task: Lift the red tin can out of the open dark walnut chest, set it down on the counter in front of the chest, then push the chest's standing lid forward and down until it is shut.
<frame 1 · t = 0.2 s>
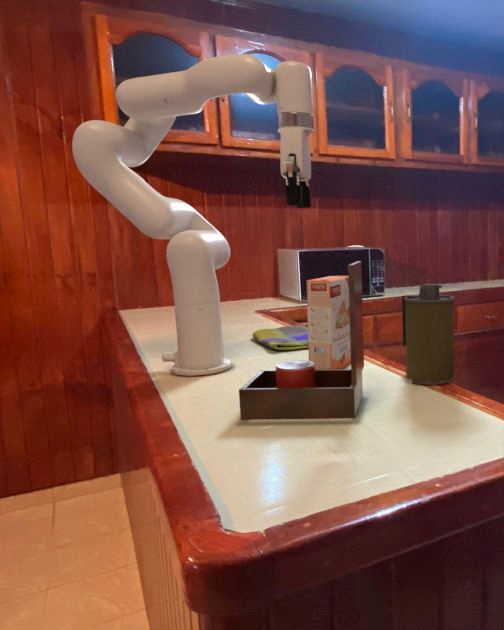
hand: (299, 206, 116), 37 cm above the counter, tool pointing down, fingers open, 9 cm apart
cracker box: (332, 368, 122), on the counter
canister: (429, 379, 112), on the counter
chest: (306, 410, 92), on the counter
dish towel: (291, 342, 153), on the counter
tin can: (297, 406, 92), point 1 cm above the counter, touching chest
lid: (356, 320, 90), point 16 cm above the counter, hinge at 90.0°
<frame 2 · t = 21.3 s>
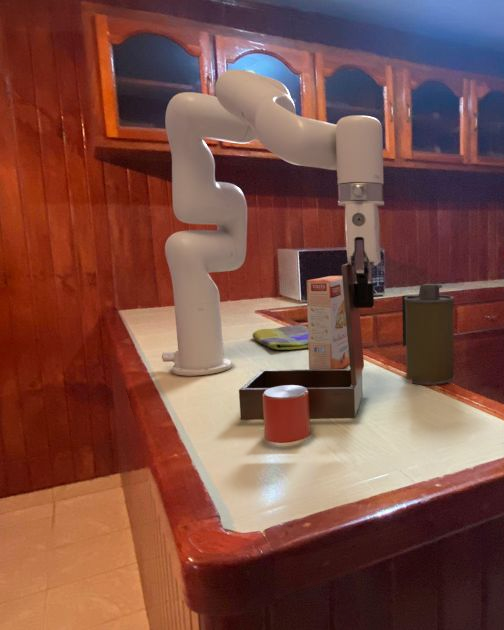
hand: (364, 306, 89), 18 cm above the counter, tool pointing down, fingers closed
tin can: (287, 439, 79), on the counter
lid: (353, 320, 90), point 16 cm above the counter, hinge at 86.8°, touching gripper
everything else where it was.
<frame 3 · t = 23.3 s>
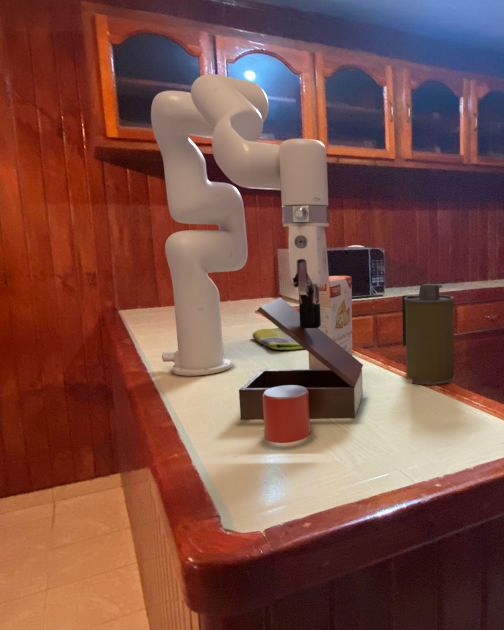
hand: (310, 327, 90), 15 cm above the counter, tool pointing down, fingers closed
lid: (314, 339, 90), point 13 cm above the counter, hinge at 40.9°, touching gripper
everything else where it was.
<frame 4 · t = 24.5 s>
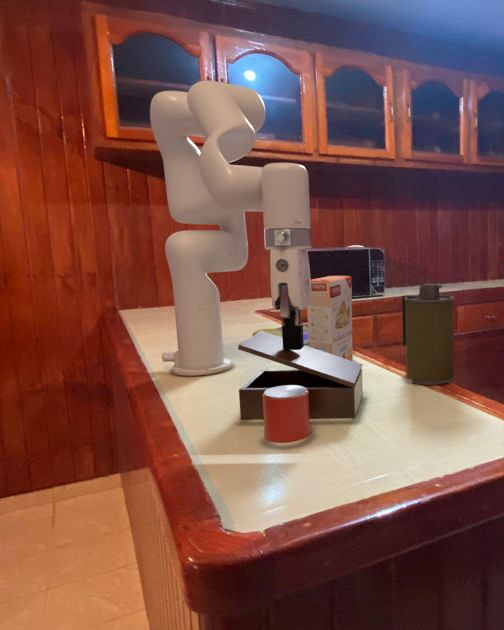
hand: (293, 348, 90), 11 cm above the counter, tool pointing down, fingers closed
lid: (304, 357, 91), point 10 cm above the counter, hinge at 19.8°, touching gripper
everything else where it was.
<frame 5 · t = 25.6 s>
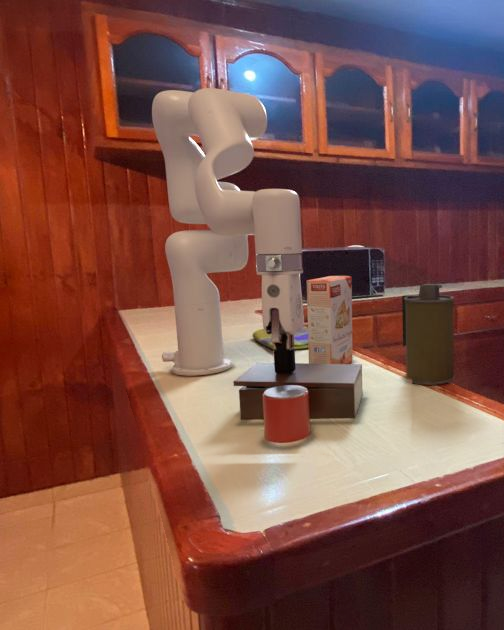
hand: (285, 371, 91), 7 cm above the counter, tool pointing down, fingers closed
lid: (302, 374, 91), point 7 cm above the counter, hinge at 1.6°, touching gripper
everything else where it was.
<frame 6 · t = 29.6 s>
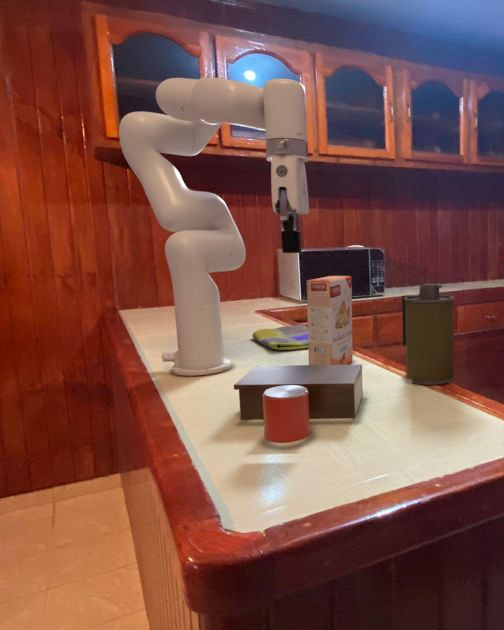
hand: (291, 252, 100), 27 cm above the counter, tool pointing down, fingers closed
lid: (302, 376, 91), point 6 cm above the counter, hinge at -0.2°, touching chest
everything else where it was.
at the end: tin can inside the target area (0.1 cm from its centre), on the counter; tin can tilted 0°; lid at +0° (first picture: +90°) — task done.
